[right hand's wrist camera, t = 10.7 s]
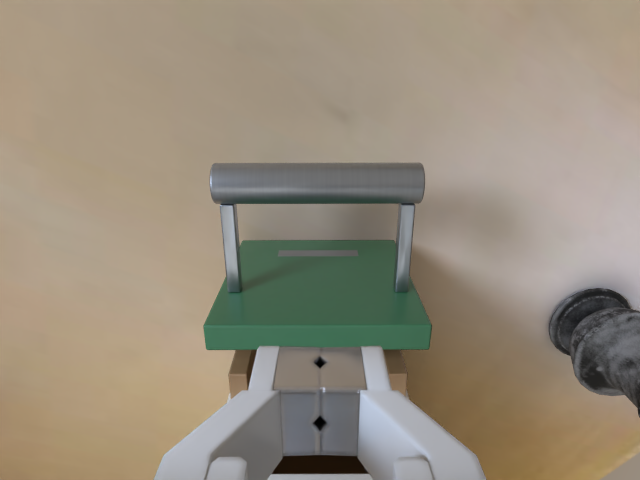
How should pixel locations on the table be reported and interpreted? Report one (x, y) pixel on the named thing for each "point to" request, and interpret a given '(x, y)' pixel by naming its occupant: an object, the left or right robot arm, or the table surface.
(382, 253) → the drawer
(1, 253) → the table surface
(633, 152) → the table surface
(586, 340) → the dark grey chess piece
